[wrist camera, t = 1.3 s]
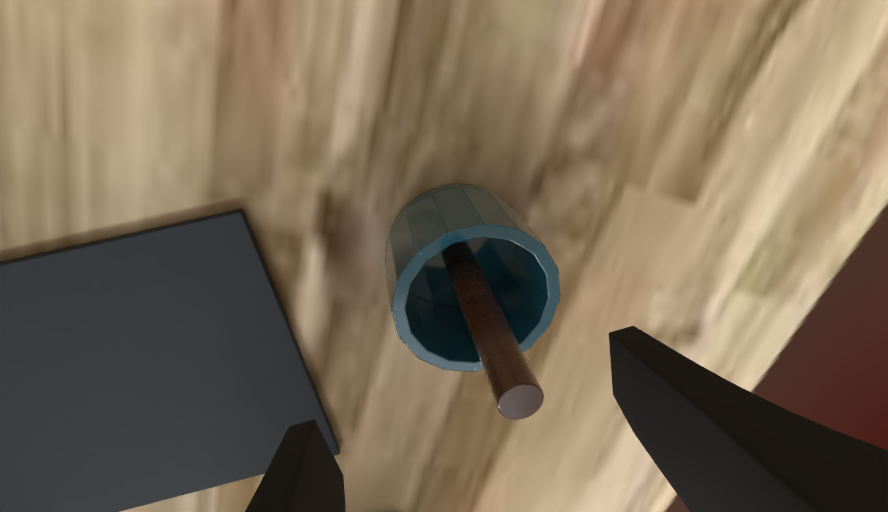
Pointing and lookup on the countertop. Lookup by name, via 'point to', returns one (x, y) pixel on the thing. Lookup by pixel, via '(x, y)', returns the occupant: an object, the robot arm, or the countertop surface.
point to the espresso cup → (499, 256)
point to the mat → (145, 369)
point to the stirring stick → (492, 337)
